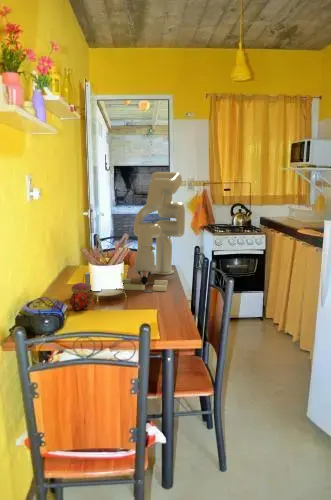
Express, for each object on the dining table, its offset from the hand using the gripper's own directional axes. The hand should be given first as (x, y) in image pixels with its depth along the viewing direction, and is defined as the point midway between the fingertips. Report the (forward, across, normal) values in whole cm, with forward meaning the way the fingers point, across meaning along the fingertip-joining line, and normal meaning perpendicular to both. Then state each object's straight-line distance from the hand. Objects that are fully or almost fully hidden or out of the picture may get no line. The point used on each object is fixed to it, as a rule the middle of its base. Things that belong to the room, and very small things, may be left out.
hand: (144, 284), depth 217 cm
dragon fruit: (+2, +23, +41) cm, 47 cm away
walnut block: (+2, +4, 0) cm, 5 cm away
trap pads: (+2, -3, 0) cm, 3 cm away
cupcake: (+2, +27, +24) cm, 36 cm away
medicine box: (+2, +24, +10) cm, 26 cm away
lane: (+2, +1, 0) cm, 2 cm away
